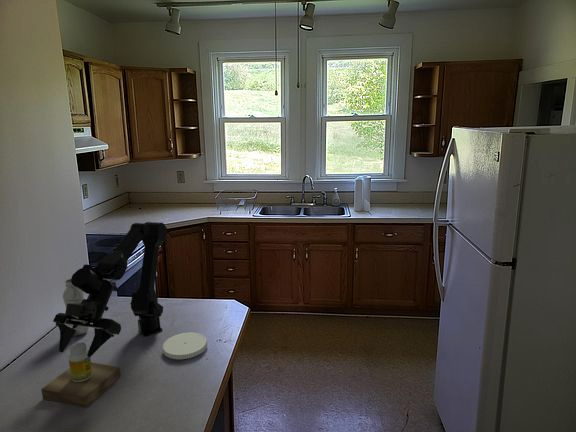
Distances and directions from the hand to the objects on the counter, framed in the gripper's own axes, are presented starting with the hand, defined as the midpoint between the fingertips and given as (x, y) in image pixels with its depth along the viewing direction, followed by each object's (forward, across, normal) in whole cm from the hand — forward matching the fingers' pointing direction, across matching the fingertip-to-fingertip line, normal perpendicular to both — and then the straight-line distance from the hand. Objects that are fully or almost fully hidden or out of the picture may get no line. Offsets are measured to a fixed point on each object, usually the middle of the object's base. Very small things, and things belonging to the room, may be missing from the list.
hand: (74, 354), depth 112 cm
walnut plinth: (+7, 0, +9) cm, 11 cm away
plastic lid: (-10, +18, +27) cm, 34 cm away
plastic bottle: (-11, -24, +27) cm, 37 cm away
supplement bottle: (+5, 0, +7) cm, 8 cm away
